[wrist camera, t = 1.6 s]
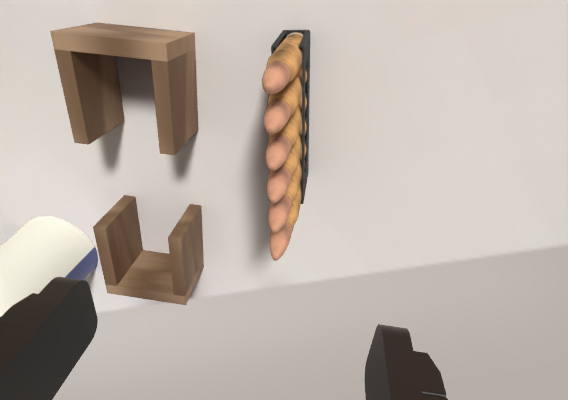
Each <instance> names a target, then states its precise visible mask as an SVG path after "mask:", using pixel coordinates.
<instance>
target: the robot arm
mask: <svg viewBox="0 0 568 400" xmlns="http://www.w3.org/2000/svg"><path fill="white" fill-rule="evenodd" d="M96 328H97V315H96V311H95V307H94V303H93V299H92V295H91V291H90V287H89V284H88V282H87V281H85V280H78V279H71V278H64V277H56V278H54V279H52V280H51V281H50V282H49V283H48V284H47V285H46V286H45V287H44V288H43V290H42V291H41V292H40V293H39V294H36V293H32V294H30V295H29V296H27V297H26V298H24V299H22V300H21V301H19V302H17V303H16V304H14V305H13V306H11V307H10V308H9V309H8V310H7V311H6V312H5V313H4V314H3V315H2V316H1V317H0V400H52V399H53V397H54V396H55V394H56V393H57V391H58V390H59V389H60V387H61V386H62V384H63V383H64V381H65V379H66V378H67V376H68V375H69V374H70V372H71V371H72V369H73V368H74V366H75V365H76V363H77V362H78V360H79V359H80V357H81V356H82V354H83V353H84V351H85V350H86V348H87V347H88V345H89V344H90V342H91V341H92V339H93V337H94V334H95V332H96ZM365 393H366V400H448V399H447V398H446V392H445V388H444V384H443V380H442V377H441V373H440V371H439V370H438V368H437V367H436V365H435V364H434V362H433V361H432V359H431V358H430V356H429V355H428V354H427V353H423V352H416V351H413V347H412V342H411V338H410V333H409V331H408V330H407V329H406V328H399V327H393V326H385V325H378V326H377V328H376V331H375V335H374V338H373V341H372V344H371V348H370V351H369V354H368V358H367V362H366V367H365Z"/></svg>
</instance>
